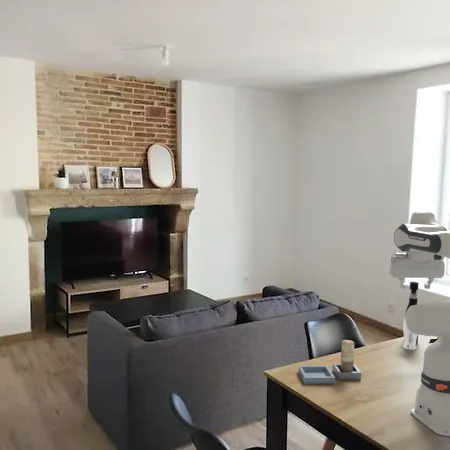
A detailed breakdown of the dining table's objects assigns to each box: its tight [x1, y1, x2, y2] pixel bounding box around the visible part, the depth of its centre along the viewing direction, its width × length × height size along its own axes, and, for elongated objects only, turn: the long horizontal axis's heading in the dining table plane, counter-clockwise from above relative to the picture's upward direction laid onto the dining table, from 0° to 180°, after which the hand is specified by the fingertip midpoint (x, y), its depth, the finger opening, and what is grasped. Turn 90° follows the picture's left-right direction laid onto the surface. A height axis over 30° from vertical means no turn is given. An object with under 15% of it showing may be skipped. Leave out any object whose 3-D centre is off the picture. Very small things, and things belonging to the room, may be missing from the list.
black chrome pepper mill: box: [404, 281, 419, 345], centre depth 244 cm, size 6×6×30 cm
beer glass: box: [402, 316, 419, 351], centre depth 236 cm, size 7×7×15 cm
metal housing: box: [332, 363, 362, 381], centre depth 204 cm, size 9×9×3 cm
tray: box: [298, 365, 336, 385], centre depth 201 cm, size 12×12×2 cm
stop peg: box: [340, 339, 355, 372], centre depth 203 cm, size 5×5×14 cm
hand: (414, 288), depth 191 cm, fingers open, 8 cm apart
